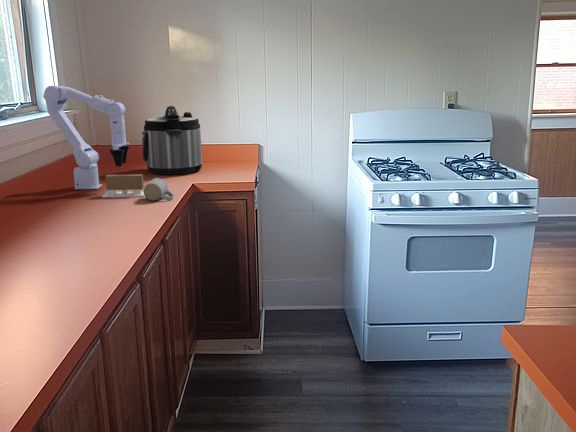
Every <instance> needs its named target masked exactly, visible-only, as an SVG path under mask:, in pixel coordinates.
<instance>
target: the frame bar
mask: <svg viewBox="0 0 576 432" xmlns="http://www.w3.org/2000/svg"><path fill="white" fill-rule="evenodd" d="M104 177H105V178H104V179H105V188H106V191H107V190H117V191H122V190H128V191H129V190H130V191H133V190H135V189H142V190H144V188H145V186H144V185H145V183H144V174H141V173H139V174H137V173H136V174H134V173H133V174H106V175H105V176H104Z"/></svg>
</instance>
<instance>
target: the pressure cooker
mask: <svg viewBox="0 0 576 432" xmlns="http://www.w3.org/2000/svg"><path fill="white" fill-rule="evenodd" d="M199 121H200V120H199V118H195V117H193V115H192V113H191V112H190V111H185V112H184V113H183V115H182V116H180V115H179V114H178V112H177V109H176V107H175V106H173V105H169V106H167V107H166V109H165V113H164V115H163V116H159V117H153V118H147V119H145V120H144V125H143V131H142V132H141V134H142V137H141V138H142V143H141V144H142V159H143V161H144V162H146V168H147V170H148V172H150V173H152V174H158V175H175V174H188V173H189V174H190V173H194V172H197V171H201V169H202V166H203V151H202V136H201V135H202V134H201V133H202V131H201V124H200V123H199Z"/></svg>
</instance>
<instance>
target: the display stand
mask: <svg viewBox="0 0 576 432" xmlns="http://www.w3.org/2000/svg"><path fill="white" fill-rule="evenodd" d="M143 197H145V195H144V190H143V189H135V190H130V191H129V190H121V191H118V190H106V192H105V193H104V194H103V195H102V196H101V198H102V199H103V198H143Z"/></svg>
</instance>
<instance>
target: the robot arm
mask: <svg viewBox="0 0 576 432" xmlns="http://www.w3.org/2000/svg"><path fill="white" fill-rule="evenodd" d="M43 99H44V100H45V105H46V111H47V113H48V115H49V117H51V119H52V120H53V122H54V124H55V125H56V126H57V128H58V129H59V130H60V132H61V133H62V135H63V136H64V138H65V139H66V140H67V142H68V143H69V145H70V146H71V148H72V149H73V151H72V154H73V156H74V158H75V162H76V164H77V165H78V166H77V167H74V168H73V180H74V190H98V189H99V188H101V187H102V186H103V184H101V183H100V180H99V179H100V177H99V171H98V170H99V167H98V162H99V159H100V155H99V153H98V152H97V151H96V150H95V149H93V148H92V146H91V145H90V144H88V143H86V142H85V141H84V139H83V138H82V136H81V134H80V133H79V132H78V130H77V128H76V127H75V126H74V125H73V123H72V122H71V120H70V119H69V118H68V116H67V114H66V113H65V111H64V107H65V104H66V103H67V101H68V99H73V100H76V101H79V102H83V103H84V104H87V105H90V107H91V109H93V110H97V111H99V112H101V113H104V114H106V115H107V116H108V117H109V119H110V120H109V124H110V125H109V126H110V135H111V146H112V148H111V149H109V153H110V155H112V158H113V161H114V164H115V167H119V168H120V167H122V165H123V164H126V163H127V158H128V156H127V155H128V151H129V149H130V142H127V135H126V123H125V114H126V111H127V110H126V106H125V105H124V104H123V103H122V102H120V101H116V102H115V100H114V99H108V98H106V97H104V95H103V94H102V95H101V94H98V95H97V94H95V95H94V96H91V95H90V94H87V93H85V92H83V91H82V92H81V91H80V90H78V89H75V88H72V87H70V86H65V85H62V84H60V85H48V86H47V87H46V88H45V89H44V93H43Z"/></svg>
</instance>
